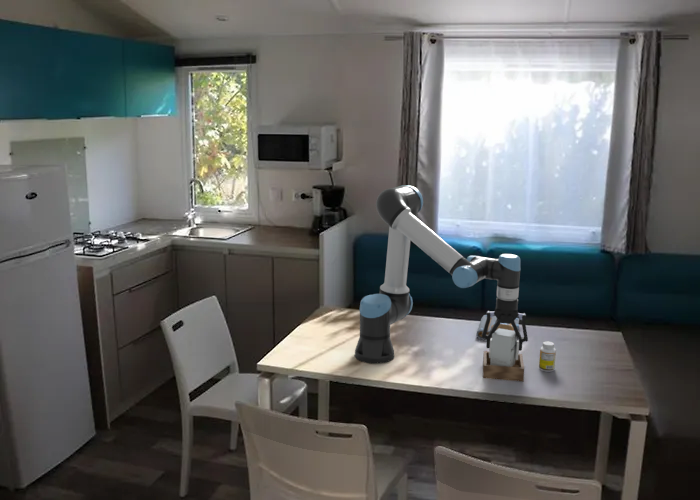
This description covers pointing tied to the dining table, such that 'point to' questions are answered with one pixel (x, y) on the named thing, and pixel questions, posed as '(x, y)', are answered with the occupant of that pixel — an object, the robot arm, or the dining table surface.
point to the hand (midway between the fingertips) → (503, 357)
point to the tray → (503, 369)
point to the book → (492, 322)
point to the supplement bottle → (547, 357)
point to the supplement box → (503, 348)
